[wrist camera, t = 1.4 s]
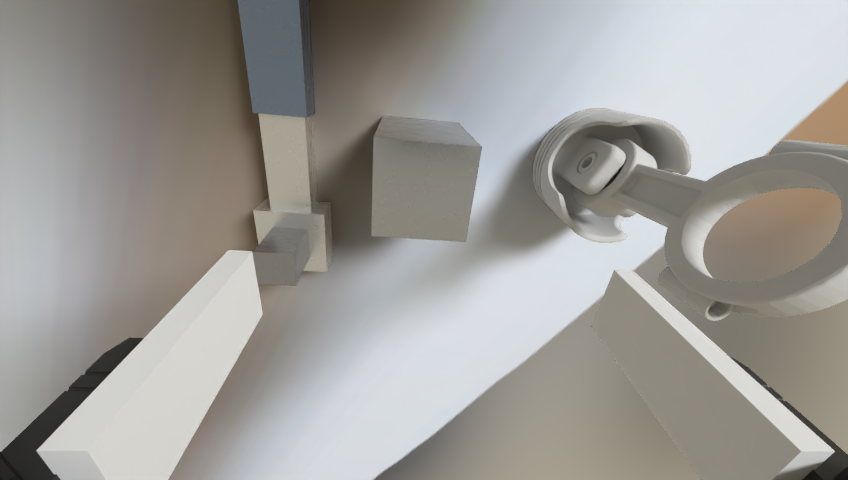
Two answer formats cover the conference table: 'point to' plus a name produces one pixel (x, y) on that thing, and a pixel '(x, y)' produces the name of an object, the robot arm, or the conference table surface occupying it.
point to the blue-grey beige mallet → (285, 141)
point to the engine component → (689, 205)
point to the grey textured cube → (423, 179)
